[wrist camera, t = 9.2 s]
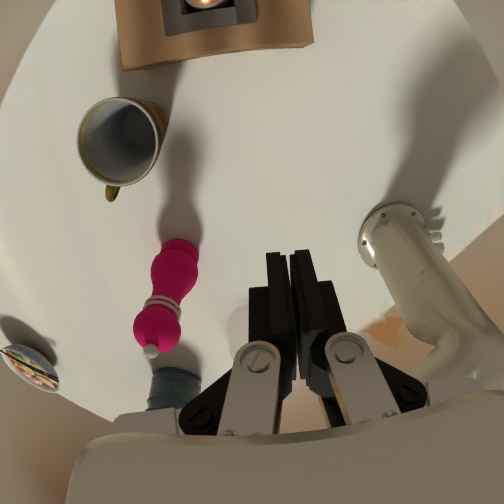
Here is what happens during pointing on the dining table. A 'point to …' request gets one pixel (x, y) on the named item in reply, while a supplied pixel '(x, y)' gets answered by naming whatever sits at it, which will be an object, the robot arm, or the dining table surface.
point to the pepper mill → (166, 297)
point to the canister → (172, 389)
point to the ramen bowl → (31, 367)
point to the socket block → (207, 29)
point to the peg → (209, 4)
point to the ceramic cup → (120, 141)
